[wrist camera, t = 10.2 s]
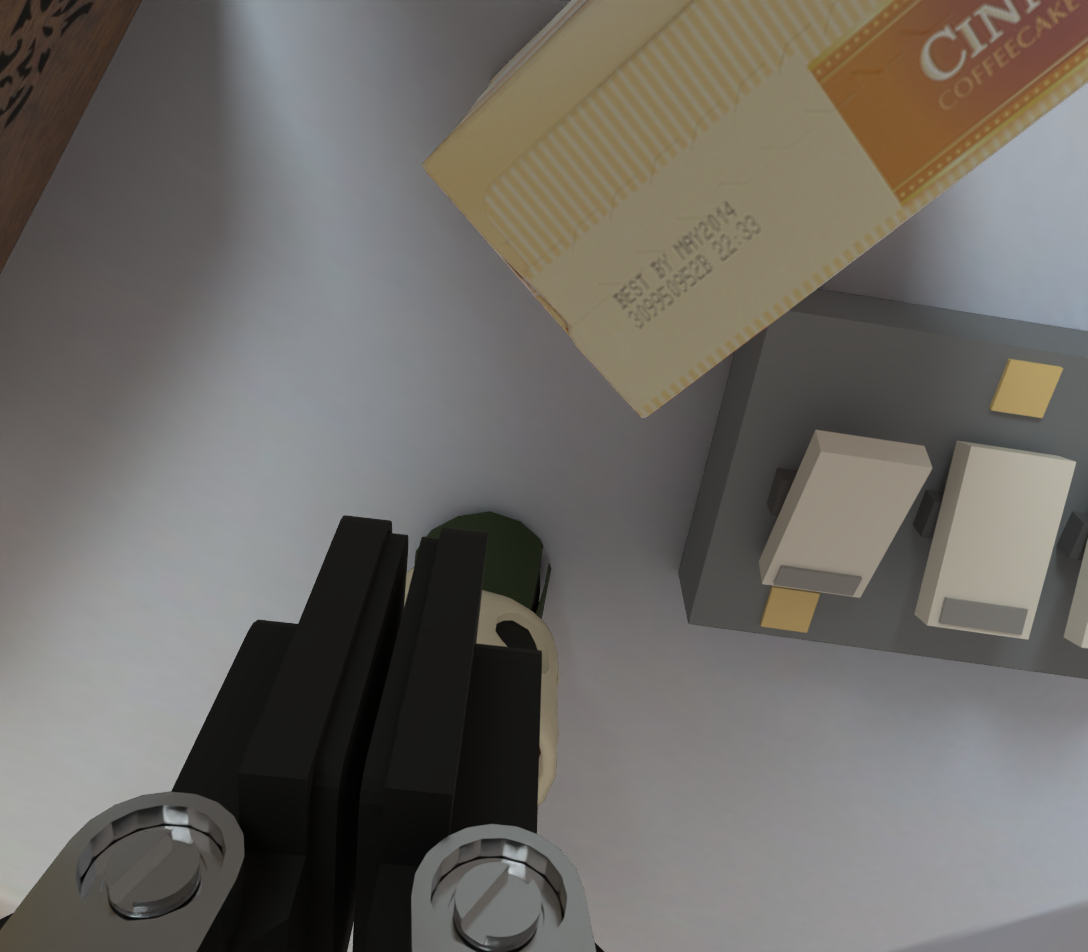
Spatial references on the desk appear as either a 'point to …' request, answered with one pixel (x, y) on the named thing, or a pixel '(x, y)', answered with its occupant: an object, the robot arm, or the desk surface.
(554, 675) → the character mug
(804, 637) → the console
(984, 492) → the block
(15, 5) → the tissue box cover
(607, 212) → the coffeecake box
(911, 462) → the rocker
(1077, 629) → the rocker
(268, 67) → the desk surface
